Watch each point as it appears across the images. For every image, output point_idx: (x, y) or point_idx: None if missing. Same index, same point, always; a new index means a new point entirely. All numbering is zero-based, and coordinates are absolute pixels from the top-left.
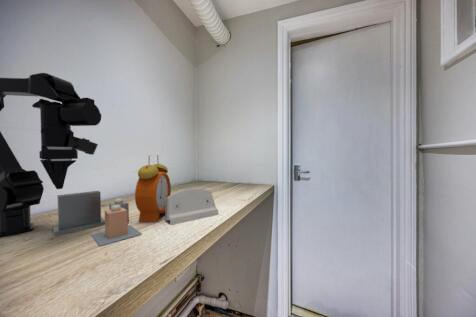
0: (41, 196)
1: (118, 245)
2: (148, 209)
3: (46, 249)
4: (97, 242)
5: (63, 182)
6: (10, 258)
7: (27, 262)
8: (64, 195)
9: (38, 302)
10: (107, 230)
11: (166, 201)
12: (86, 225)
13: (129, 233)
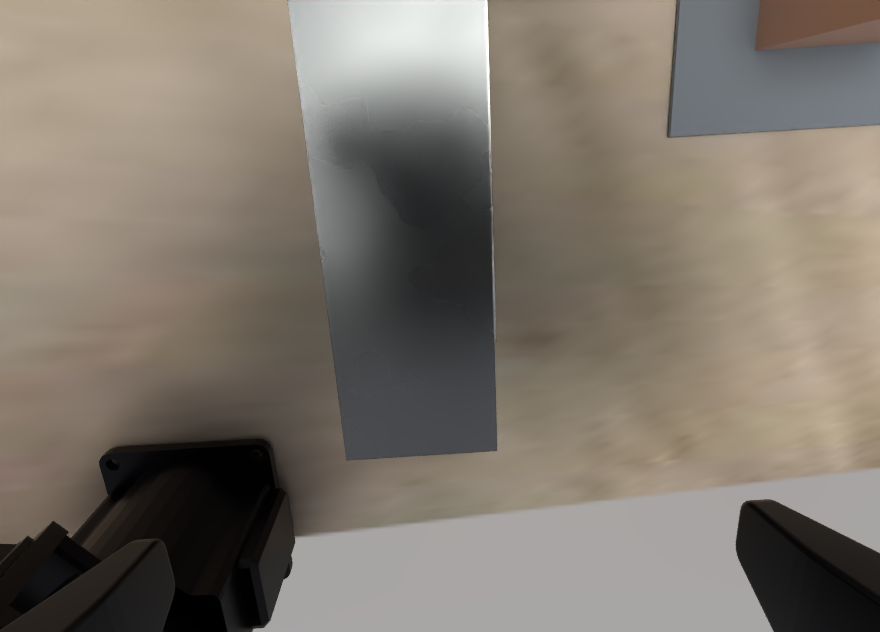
0: (15, 564)
1: None
2: None
3: (708, 359)
4: (877, 123)
5: (876, 558)
6: (695, 474)
7: (814, 416)
8: (426, 397)
9: None
10: (867, 37)
11: None
12: (490, 149)
13: None
